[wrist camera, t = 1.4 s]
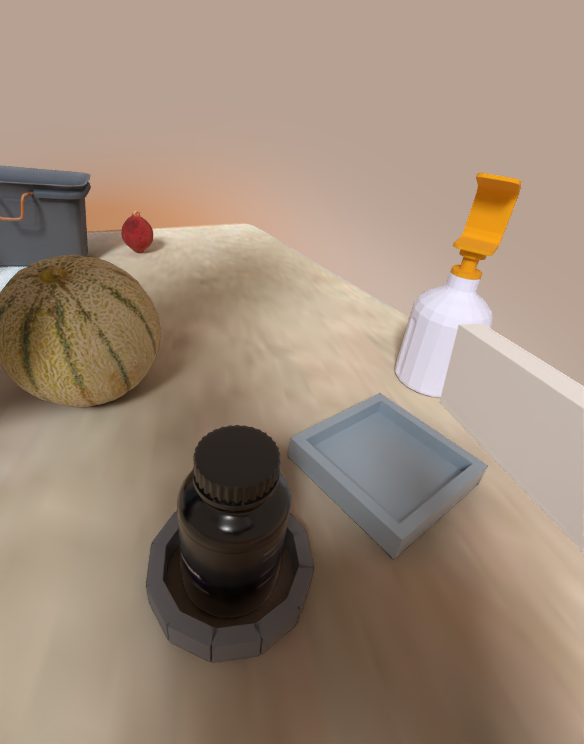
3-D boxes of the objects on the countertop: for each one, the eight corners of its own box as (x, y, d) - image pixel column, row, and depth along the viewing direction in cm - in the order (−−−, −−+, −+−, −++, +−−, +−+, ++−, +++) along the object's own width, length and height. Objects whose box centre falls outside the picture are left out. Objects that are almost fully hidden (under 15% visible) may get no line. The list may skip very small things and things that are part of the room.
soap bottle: (384, 381, 52) (444, 169, 38) (406, 353, 58) (464, 165, 45) (454, 409, 48) (548, 187, 35) (469, 376, 55) (553, 179, 41)
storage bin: (103, 248, 82) (91, 170, 74) (98, 276, 69) (83, 187, 62) (-22, 247, 75) (-49, 161, 67) (-51, 278, 63) (-90, 178, 55)
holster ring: (125, 555, 29) (121, 539, 28) (250, 486, 35) (252, 470, 34) (201, 705, 22) (200, 691, 21) (339, 587, 29) (344, 572, 28)
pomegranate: (147, 259, 79) (142, 216, 74) (118, 255, 79) (113, 212, 75) (159, 250, 84) (156, 210, 79) (132, 246, 84) (128, 206, 80)
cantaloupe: (151, 347, 52) (139, 230, 44) (179, 417, 42) (169, 279, 34) (17, 366, 46) (-27, 233, 38) (10, 454, 36) (-53, 295, 27)
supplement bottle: (162, 599, 27) (144, 475, 20) (211, 518, 32) (210, 400, 26) (257, 640, 25) (272, 521, 19) (292, 548, 31) (312, 431, 24)
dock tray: (287, 456, 39) (290, 437, 37) (374, 410, 46) (379, 392, 45) (394, 559, 31) (402, 540, 30) (478, 484, 38) (488, 465, 37)
